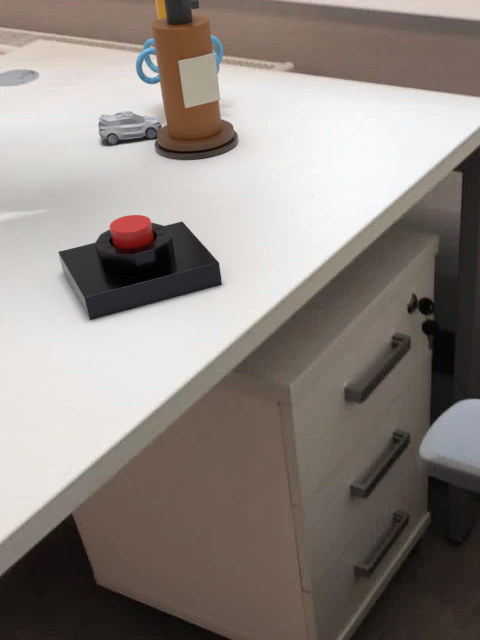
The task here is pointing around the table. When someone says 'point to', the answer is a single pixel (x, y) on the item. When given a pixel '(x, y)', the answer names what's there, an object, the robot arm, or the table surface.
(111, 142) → the toy car
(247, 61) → the table surface
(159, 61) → the labeled post on disc
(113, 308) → the button block
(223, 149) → the turntable base
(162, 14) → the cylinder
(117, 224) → the button
